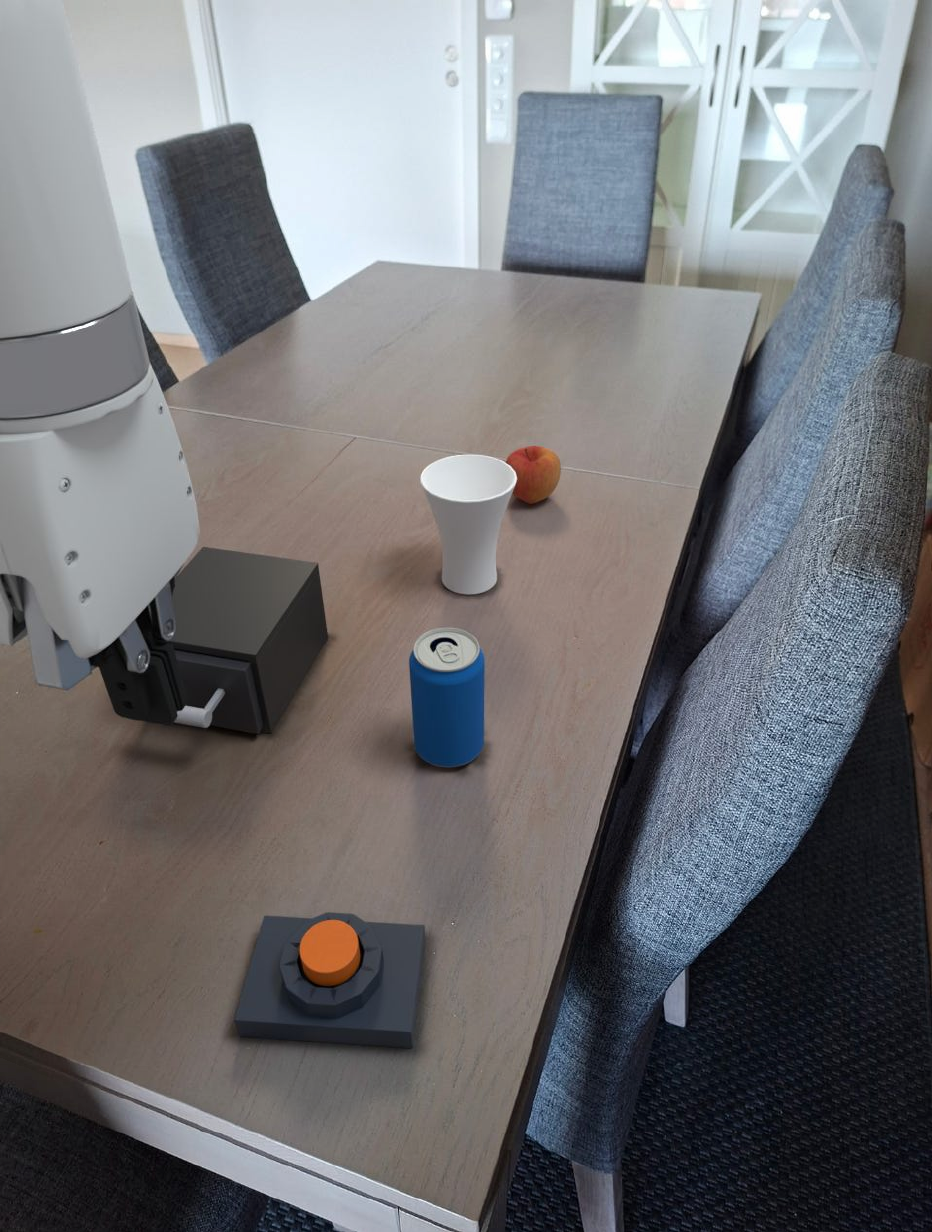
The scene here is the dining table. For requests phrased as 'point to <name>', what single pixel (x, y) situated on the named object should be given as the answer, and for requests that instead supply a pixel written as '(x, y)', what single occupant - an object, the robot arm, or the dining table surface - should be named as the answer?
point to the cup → (468, 516)
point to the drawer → (218, 692)
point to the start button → (330, 952)
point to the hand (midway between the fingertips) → (152, 710)
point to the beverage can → (447, 697)
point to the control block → (344, 1013)
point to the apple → (534, 472)
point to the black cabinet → (253, 619)
